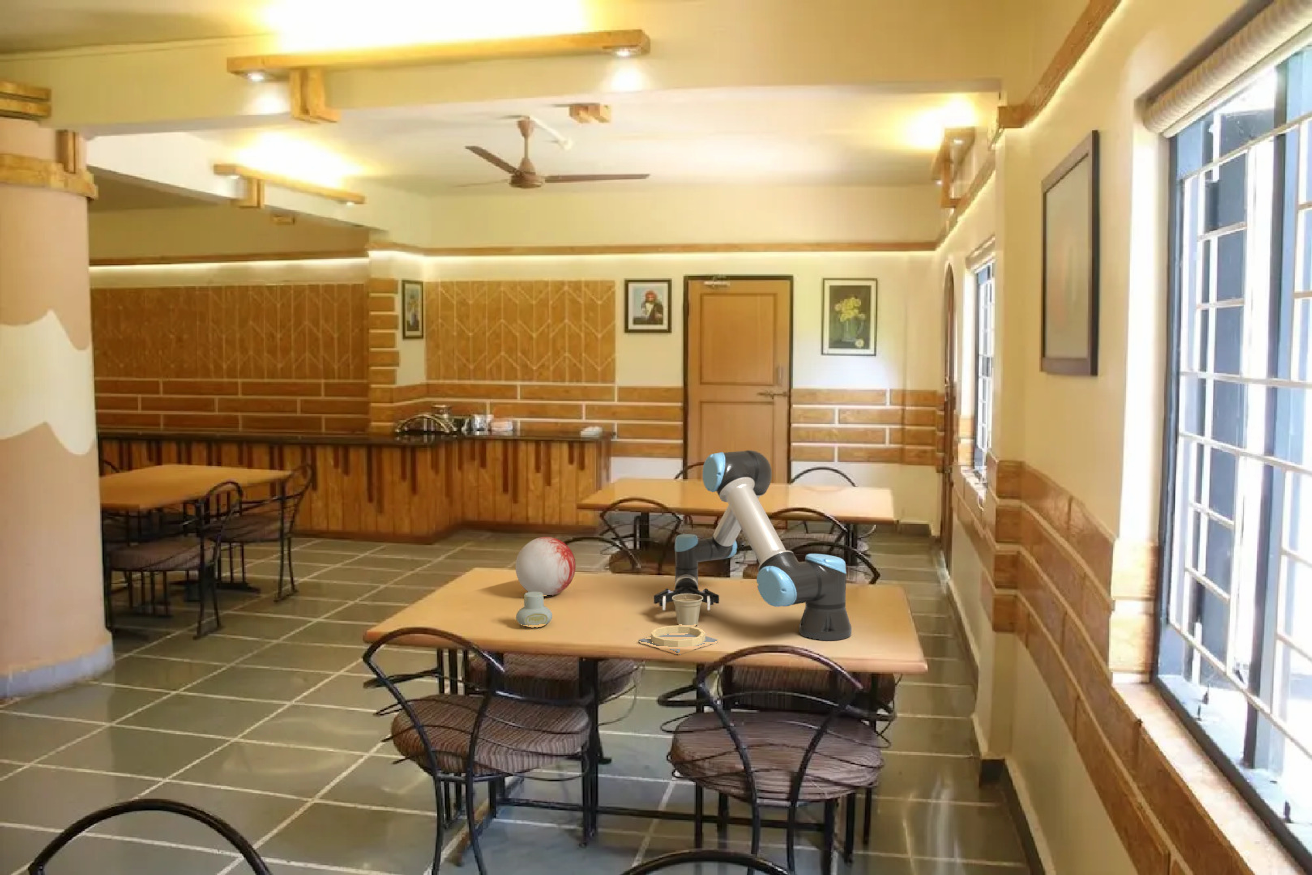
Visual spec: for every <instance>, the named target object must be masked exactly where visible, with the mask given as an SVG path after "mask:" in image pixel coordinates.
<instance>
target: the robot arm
mask: <svg viewBox="0 0 1312 875" xmlns="http://www.w3.org/2000/svg"><path fill="white" fill-rule="evenodd" d="M772 476H773V472H772V466H771V464H770V462H769V459H767V457H766V456H765V455H764V454H762V453H760V452H758V451H756V450H749V449H747V450H738V451H727V452H725V451H724V452H722V451H720V452H718V453H716V452H715V453H712V454H709V455H708V456H707V458H706V459H705V460H704V463H703V466H702V482H703V485H704V488H705V489H706V490H707V491H709V492H712V493H715V492H716V493H717V495H718V497H719V499H720V500H721V501H722V502H724V503H728V505H727V507H726V509H725V511H724V512H723V515H722V516H721V518H720V520H719V523H718V525H717V526H716V528H715V530H714V532H713V533H712V536H711V537H706V538H699V537H698V536H697V535H696V534H693V533H683V534H678V535H676V537H675V541H674V556H675V557H674V558H675V567H674V570H675V572H674V573H675V574H674V576H675V577H674V590H672V591H671V590H670V589H669V588H664V590H663V591H660V592H658V593H656V594H654V595H653V604H655V605H656V604H659V607H662V611H666V607H667V606H666V605H667V603H671V602H673V600H672V597H673V596H675V595H678V594H697V595H701V596H702V597H703V600H702V602H701V603H706V604H707V606H706V607H707V611H711V606H714V604H717V605H718V604H720V595H719V594H717V593H715V592H713V591H710V590H709V589H708V588H704V589H703V590H702V591H701V590H700V589H699V569H698V568H699V566H698V565H699V563H701V562H707V561H716V560H726V559H728V558H733V557H734V556H735V555H736V554H737V549H738V544H737V543H738V542H737V541H736V540H737V538H738V536H739V534H740V532H741V531H742V532H743V534H744V537H745V538H746V540H747V541H748V544H749V545H750V548H751V550H752V551H753V553H754V556H755V557H756V558H757V561H758V563H759V565H758V568H757V575H756V583H757V584H758V585H757V586H756V587H757V590H758V593H759V595H760V597H761V599H763V600H764V602H765V603H767V604H768V605H770V606H772V607H776V608H777V607H778V608H779V607H790V606H794V605H799V604H805V606H804V607H805V608H804V610H803V613H802V616H801V619H800V622H799V628H798V629H799V630H798V631H799V634H800V635H801V636H802V637H805V638H807V637H809V638H808V639H811V638H813V639H812V640H816V639H819V640H818V641H839V640H844V639H847V638H849V637H851V636H852V625H851V622H850V618H849V615H848V611H847V608H846V603H847V602H846V601H847V599H846V596H847V595H846V594H847V592H846V590H847V589H846V588H847V569H846V568H847V567H846V566H847V565H846V561H845V560H844V559H843V558H841V557H838V556H835V555H830V554H824V553H823V554H822V553H808V554H806V555H805V558H804V560H805V561H798V558H797V557H796V555H795V553H794V552H793V551H792V550H787V549H786V548H785V546H784V543H783V542H782V541H781V539H780V537H779V535H778V533H777V531H776V529H775V528H774V525H773V524H772V521H771V520H770V518H769V517H768V515H767V512H766V510H765V509H764V507H763V505H762V503H761V502H760V500H759V499H760V497H762V496H764V495H765V494H766V493H767V491H768V489H769V487H770V485H771V482H772V478H773V477H772Z"/></svg>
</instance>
